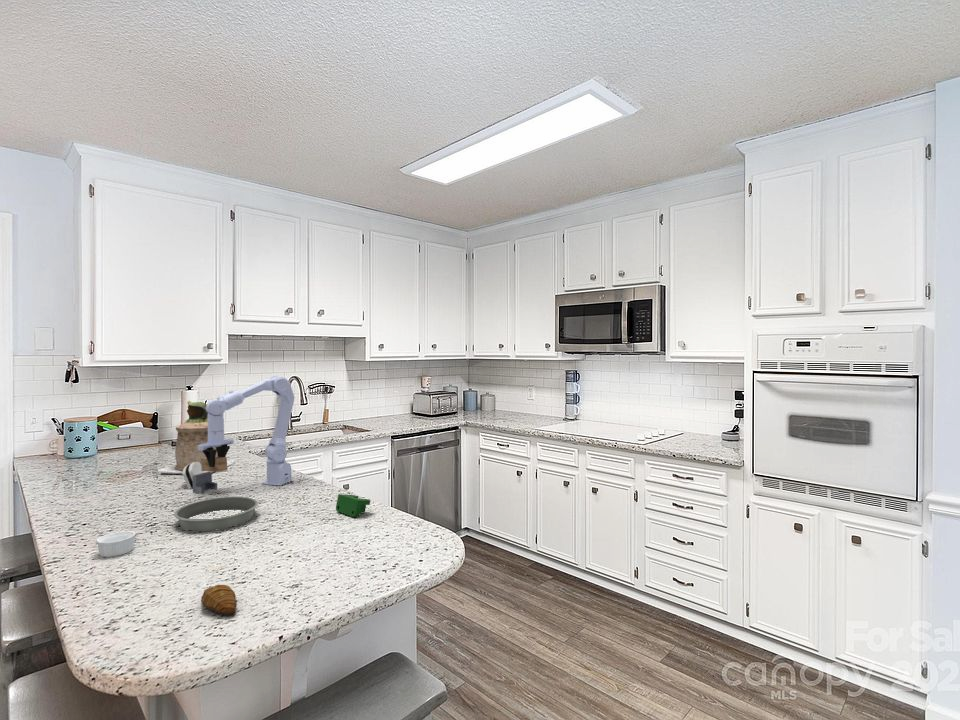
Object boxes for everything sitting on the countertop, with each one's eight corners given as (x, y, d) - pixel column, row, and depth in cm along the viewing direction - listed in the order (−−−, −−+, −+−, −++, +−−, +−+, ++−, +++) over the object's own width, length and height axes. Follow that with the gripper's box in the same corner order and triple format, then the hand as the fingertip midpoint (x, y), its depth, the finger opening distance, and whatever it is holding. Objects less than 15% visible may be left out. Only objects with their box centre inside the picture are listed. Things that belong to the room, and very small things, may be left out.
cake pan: (155, 528, 165) (155, 514, 165) (219, 506, 188) (219, 493, 188) (215, 538, 156) (215, 523, 156) (274, 513, 179) (274, 500, 179)
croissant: (190, 602, 116) (190, 580, 116) (222, 592, 121) (221, 570, 121) (214, 624, 107) (214, 600, 107) (247, 611, 112) (247, 588, 112)
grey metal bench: (217, 489, 209) (217, 472, 209) (201, 493, 203) (201, 476, 203) (208, 487, 211) (208, 471, 211) (192, 492, 205) (192, 475, 205)
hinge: (202, 488, 211) (192, 465, 210) (189, 493, 210) (179, 470, 209) (210, 478, 227) (201, 457, 226) (199, 482, 226) (189, 461, 225)
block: (227, 470, 205) (226, 456, 205) (219, 472, 201) (218, 458, 201) (209, 469, 209) (208, 456, 209) (201, 471, 205) (200, 458, 205)
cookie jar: (210, 475, 233) (209, 403, 232) (155, 475, 233) (153, 403, 233) (237, 462, 258) (235, 397, 257) (187, 463, 258) (185, 398, 257)
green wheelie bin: (363, 526, 177) (374, 503, 176) (349, 527, 173) (360, 503, 171) (347, 506, 185) (357, 483, 184) (332, 506, 181) (343, 483, 180)
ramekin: (106, 560, 140) (105, 544, 140) (91, 554, 144) (90, 538, 144) (142, 549, 147) (141, 534, 147) (126, 543, 152) (126, 528, 152)
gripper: (224, 427, 212) (225, 461, 213) (191, 433, 199) (192, 468, 200) (237, 428, 210) (237, 462, 210) (204, 434, 196) (205, 470, 197)
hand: (216, 465), depth 205 cm, fingers closed on block, 3 cm apart
